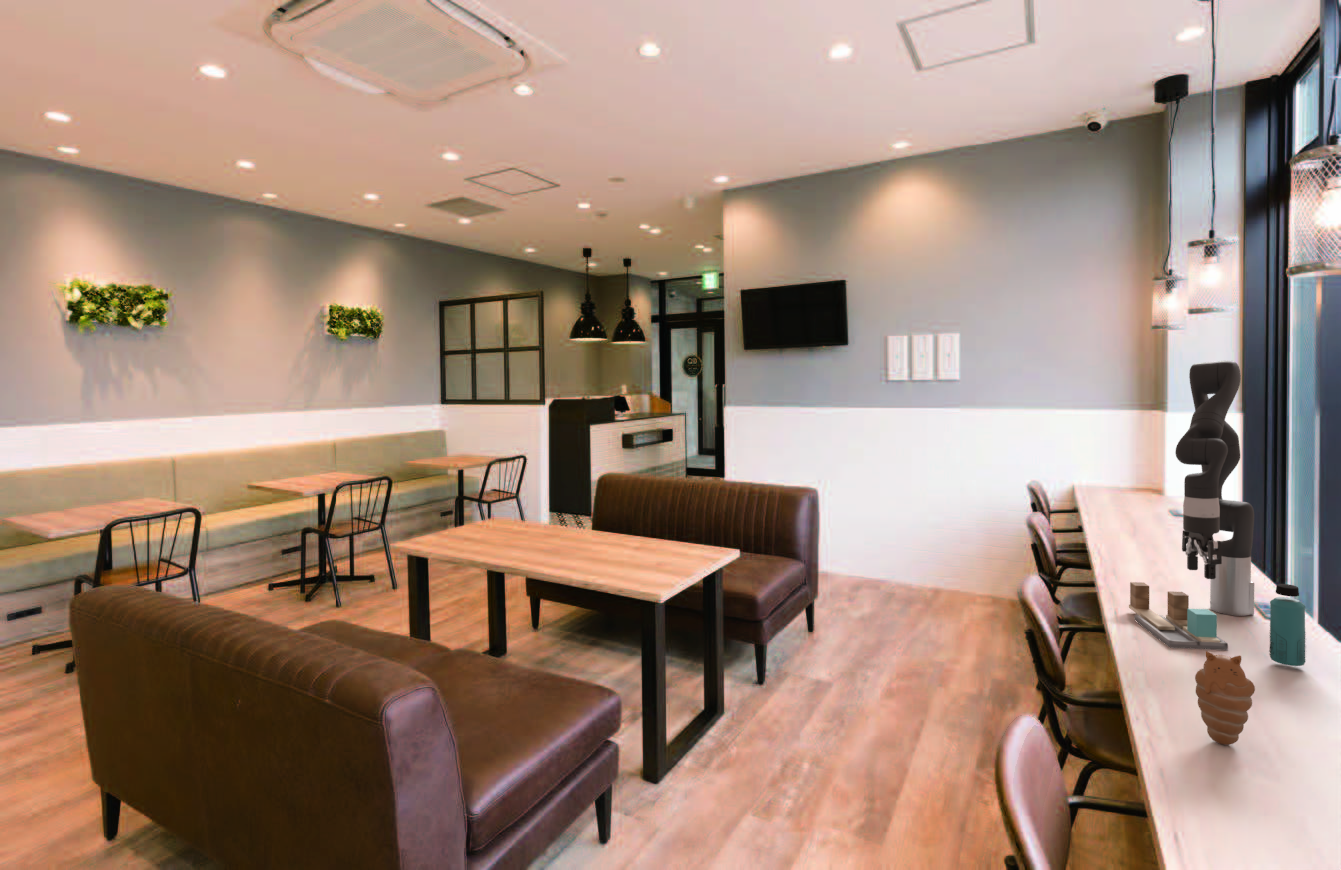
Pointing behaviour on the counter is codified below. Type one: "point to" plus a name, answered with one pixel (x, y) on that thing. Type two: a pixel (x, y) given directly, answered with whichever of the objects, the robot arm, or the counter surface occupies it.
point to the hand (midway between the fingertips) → (1200, 574)
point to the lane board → (1183, 637)
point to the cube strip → (1153, 619)
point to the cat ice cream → (1223, 697)
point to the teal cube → (1202, 622)
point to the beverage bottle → (1287, 627)
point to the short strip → (1178, 608)
